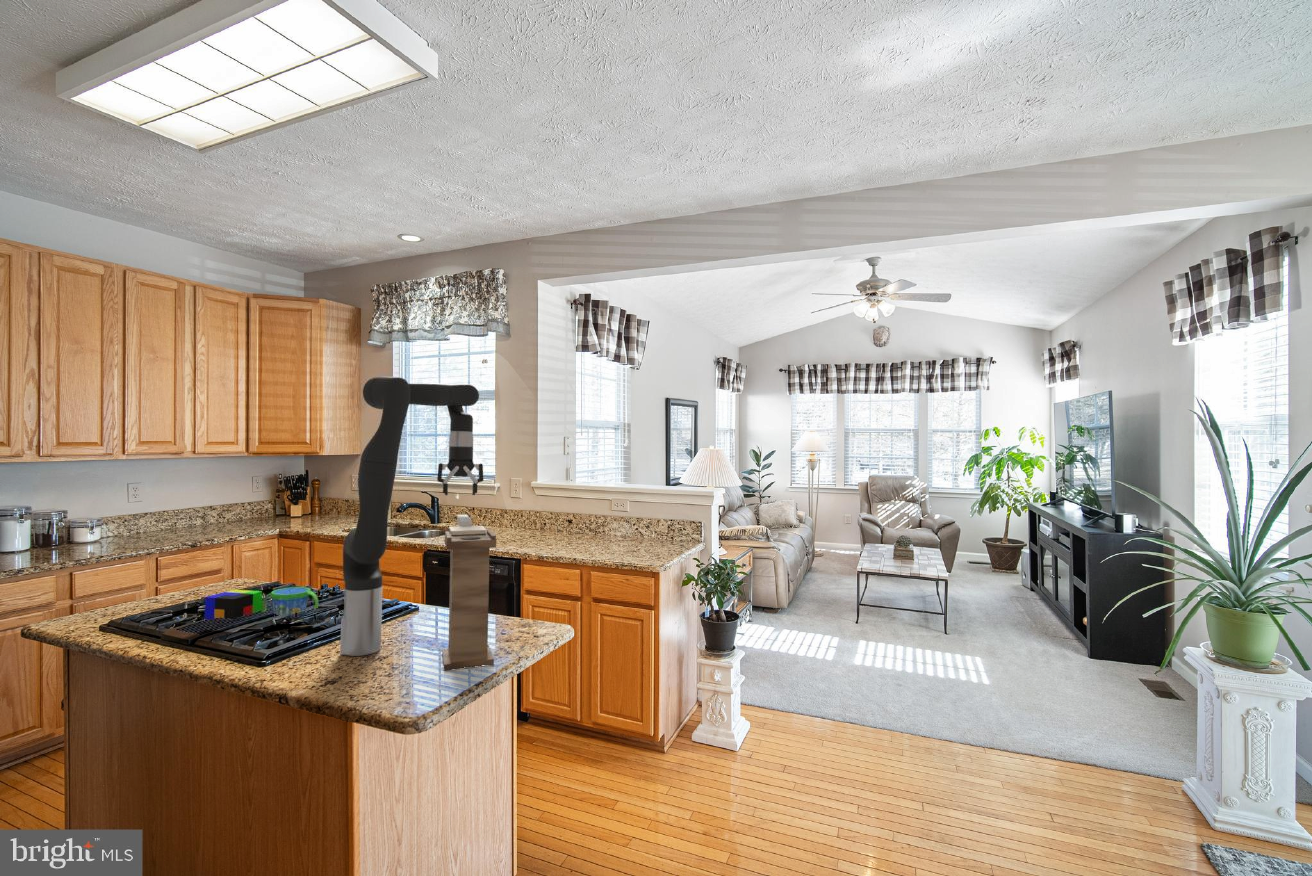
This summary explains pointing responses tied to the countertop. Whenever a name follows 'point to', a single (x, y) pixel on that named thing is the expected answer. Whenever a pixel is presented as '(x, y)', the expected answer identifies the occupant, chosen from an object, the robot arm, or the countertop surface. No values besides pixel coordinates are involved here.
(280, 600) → the snack cup
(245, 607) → the puzzle toy
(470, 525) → the slide cover
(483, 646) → the stand
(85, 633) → the countertop surface
